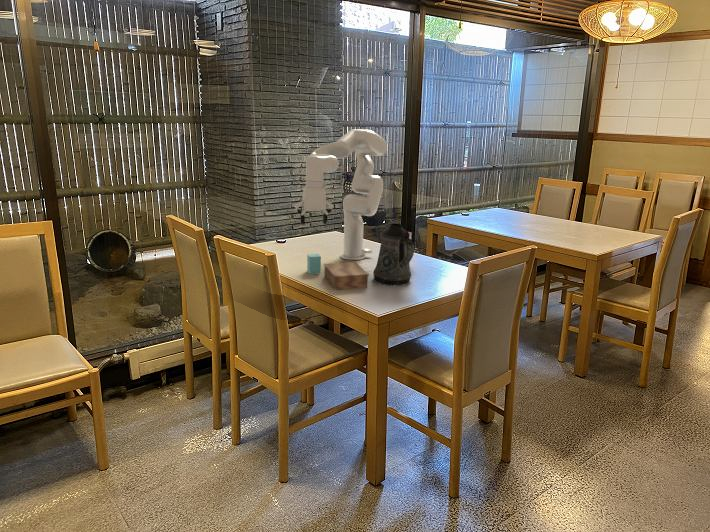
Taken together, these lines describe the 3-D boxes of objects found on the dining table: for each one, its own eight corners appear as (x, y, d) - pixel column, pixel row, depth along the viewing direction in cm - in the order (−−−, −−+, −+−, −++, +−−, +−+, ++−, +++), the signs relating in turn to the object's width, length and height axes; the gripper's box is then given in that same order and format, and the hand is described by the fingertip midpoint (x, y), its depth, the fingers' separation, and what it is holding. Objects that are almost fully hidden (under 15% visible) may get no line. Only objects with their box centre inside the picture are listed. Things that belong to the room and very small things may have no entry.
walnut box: (355, 275, 239) (355, 262, 237) (368, 287, 222) (368, 274, 220) (323, 276, 235) (323, 263, 233) (334, 290, 218) (334, 276, 216)
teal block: (318, 270, 244) (318, 253, 242) (320, 273, 240) (320, 256, 237) (307, 271, 243) (307, 254, 241) (309, 274, 238) (309, 257, 236)
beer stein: (382, 272, 244) (385, 218, 237) (422, 279, 236) (426, 224, 229) (366, 281, 230) (368, 225, 223) (408, 289, 222) (412, 230, 215)
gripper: (331, 183, 236) (330, 221, 241) (293, 183, 231) (292, 222, 236) (336, 185, 229) (335, 225, 234) (296, 185, 224) (296, 225, 229)
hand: (313, 223), depth 235 cm, fingers open, 9 cm apart
